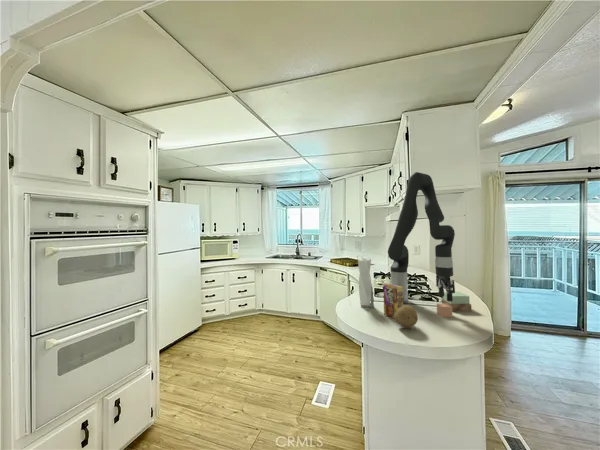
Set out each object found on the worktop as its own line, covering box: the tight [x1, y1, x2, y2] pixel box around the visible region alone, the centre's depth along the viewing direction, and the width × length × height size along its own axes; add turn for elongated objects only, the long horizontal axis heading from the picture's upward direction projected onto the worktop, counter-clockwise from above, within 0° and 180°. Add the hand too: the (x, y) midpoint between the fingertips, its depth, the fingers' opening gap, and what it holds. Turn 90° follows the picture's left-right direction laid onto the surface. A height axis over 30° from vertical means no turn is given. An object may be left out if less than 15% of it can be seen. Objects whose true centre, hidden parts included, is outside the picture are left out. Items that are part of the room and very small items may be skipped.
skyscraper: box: [356, 255, 375, 309], centre depth 143 cm, size 8×8×28 cm
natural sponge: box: [394, 304, 419, 330], centre depth 110 cm, size 9×9×10 cm
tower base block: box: [441, 298, 472, 313], centre depth 135 cm, size 10×10×4 cm
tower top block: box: [442, 291, 470, 304], centre depth 135 cm, size 9×9×4 cm
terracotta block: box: [436, 303, 453, 318], centre depth 125 cm, size 5×5×5 cm
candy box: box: [383, 283, 404, 319], centre depth 125 cm, size 9×4×15 cm, turn 26°
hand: (445, 298), depth 125 cm, fingers open, 8 cm apart
